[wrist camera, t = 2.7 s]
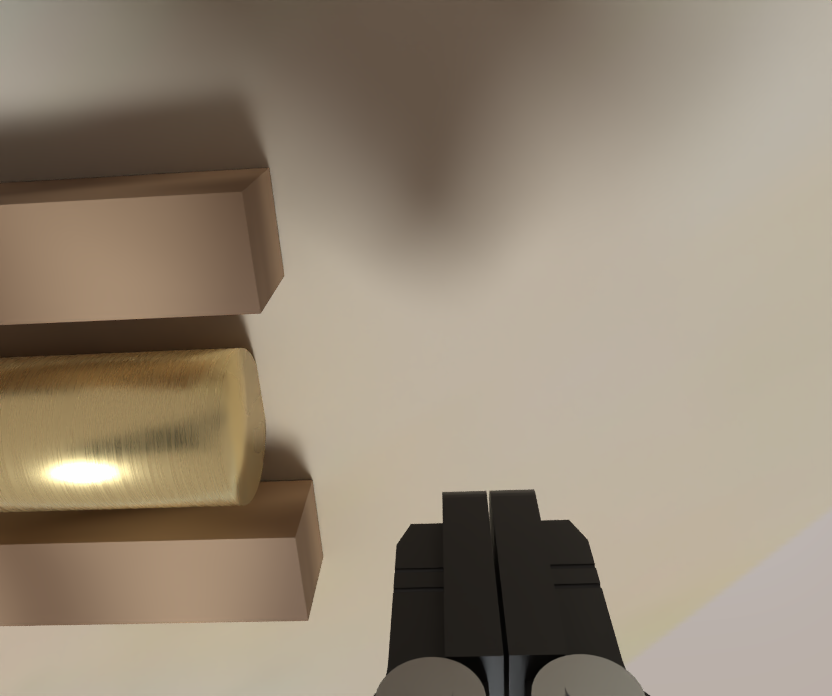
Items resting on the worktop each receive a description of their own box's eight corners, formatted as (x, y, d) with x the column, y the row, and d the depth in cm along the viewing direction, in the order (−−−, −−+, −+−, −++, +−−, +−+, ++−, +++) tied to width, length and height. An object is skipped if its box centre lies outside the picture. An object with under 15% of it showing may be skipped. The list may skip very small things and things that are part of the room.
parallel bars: (269, 167, 17) (241, 191, 15) (322, 557, 21) (307, 621, 19) (-246, 196, 18) (-343, 224, 16) (-95, 567, 22) (-156, 628, 20)
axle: (247, 318, 19) (208, 410, 16) (272, 437, 20) (242, 539, 17) (-152, 336, 19) (-265, 427, 16) (-92, 450, 21) (-182, 550, 18)
